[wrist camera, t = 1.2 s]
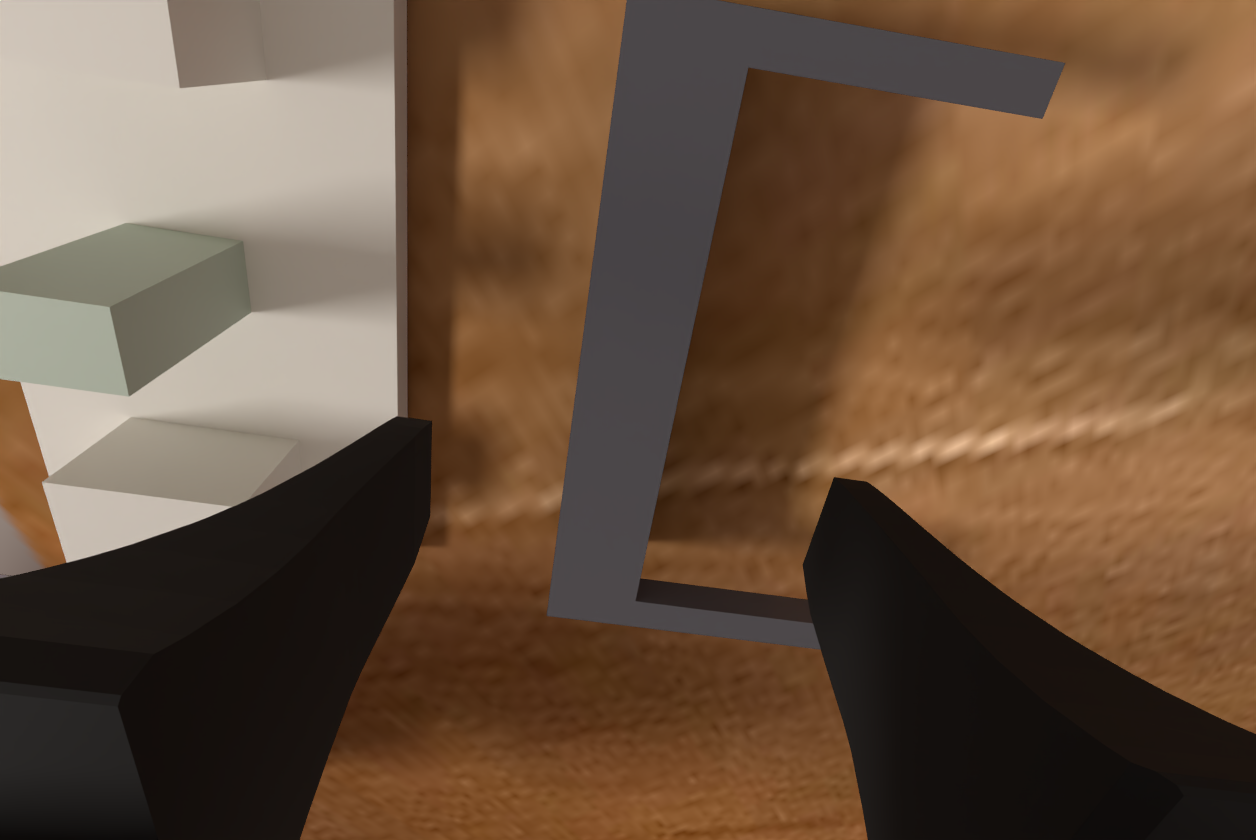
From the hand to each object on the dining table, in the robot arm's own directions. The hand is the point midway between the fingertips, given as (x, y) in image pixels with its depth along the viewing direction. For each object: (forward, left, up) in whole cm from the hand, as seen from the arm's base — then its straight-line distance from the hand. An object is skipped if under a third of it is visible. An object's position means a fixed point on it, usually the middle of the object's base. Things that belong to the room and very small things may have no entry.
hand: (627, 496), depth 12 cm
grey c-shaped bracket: (0, -3, -9) cm, 9 cm away
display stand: (0, +12, -9) cm, 15 cm away
